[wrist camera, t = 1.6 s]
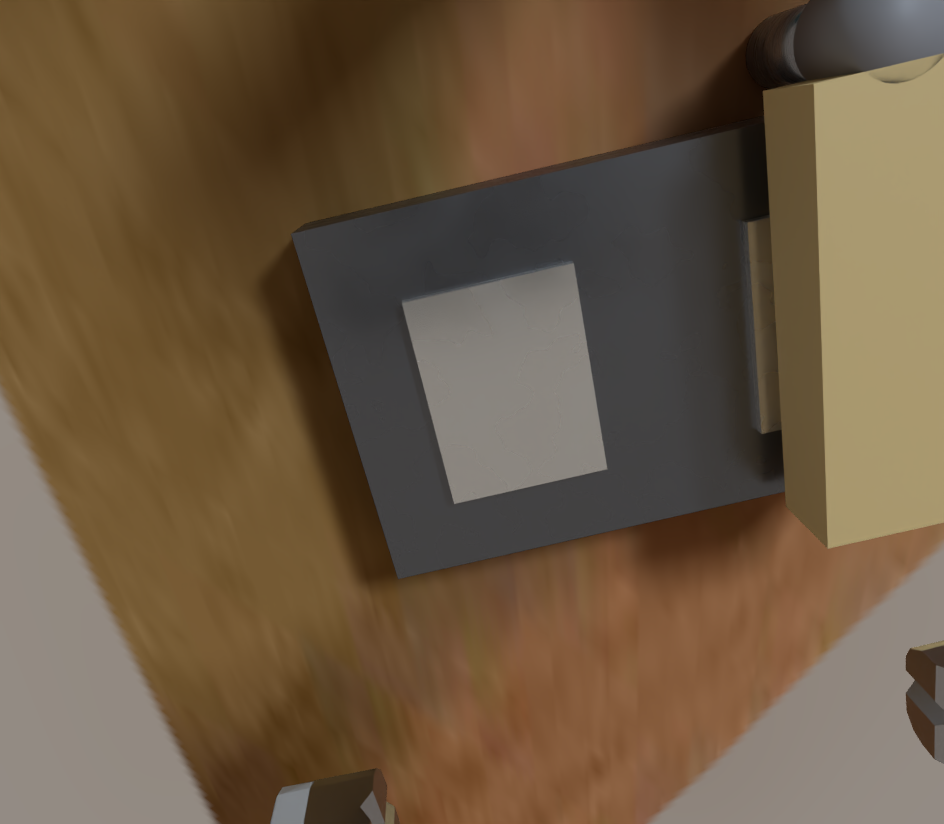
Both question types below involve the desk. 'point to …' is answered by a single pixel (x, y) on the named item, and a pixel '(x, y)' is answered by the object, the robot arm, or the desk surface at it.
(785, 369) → the beige block
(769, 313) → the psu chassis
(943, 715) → the robot arm
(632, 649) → the desk surface
